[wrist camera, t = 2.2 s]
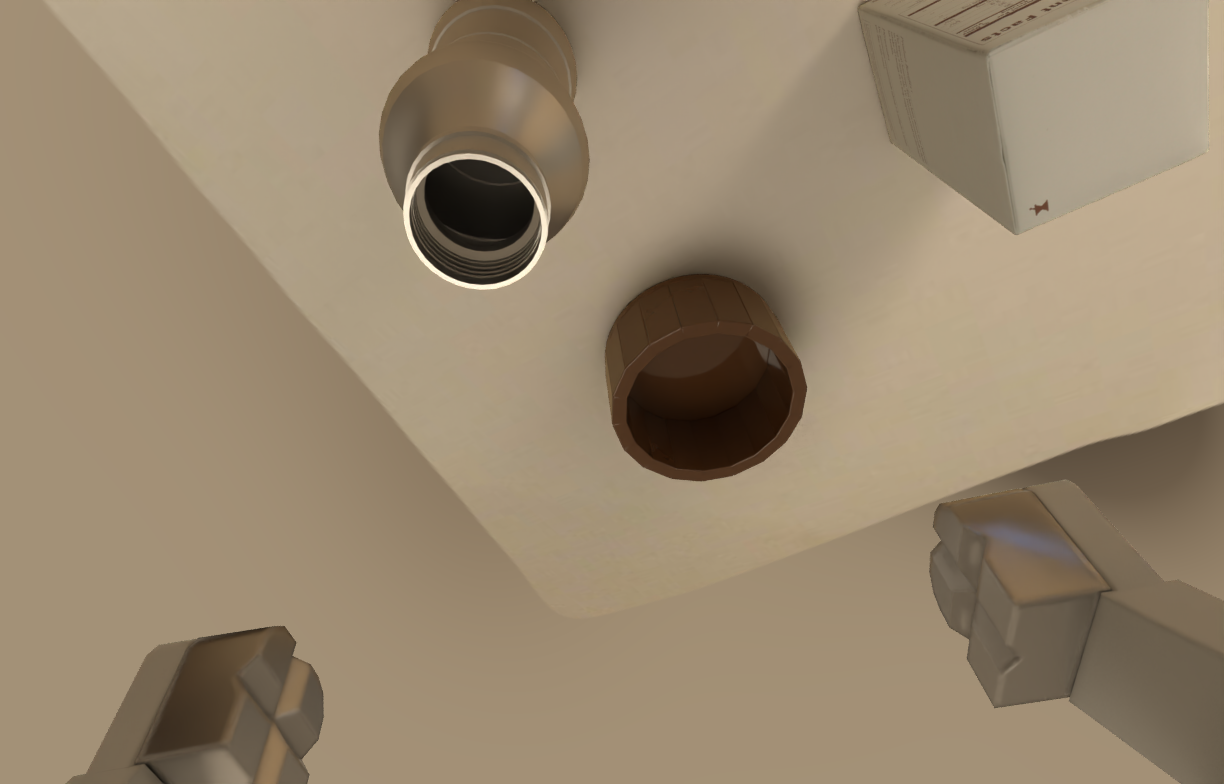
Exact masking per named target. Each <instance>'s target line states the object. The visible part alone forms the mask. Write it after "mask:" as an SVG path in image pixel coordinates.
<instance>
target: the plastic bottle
mask: <svg viewBox="0 0 1224 784" xmlns="http://www.w3.org/2000/svg"><path fill="white" fill-rule="evenodd" d="M576 86H577V70H576V61H575V58H574V54H573V51H572V48H571V45H570V43H569V41H568V39H567V37H566V35H565V33H564V31H563V30H562V28H561V27H560V26H559V24H558V23H557V22H556V20H555V19H554V18H553V17H552V16H551V15H550V14H549V13H548V12H547V11H546V10H545V9H544V8H543V7H541V6H540V5H538V4H537V3H535V2H533V1H532V0H459V1H457V2H456V3H454V4H453V5H452V6H451V7H450V8H449V9H448V10H447V11H446V12H445V13H444V14H443V15H442V17H441V18H440V20H439V22H438V23H437V25H436V26H435V29H434V31H433V34H432V36H431V39H430V43H429V49H428V54H427V55H425V56H423V57H422V58H420V59H419V60H418V61H416V62H415V63H414V64H413V65H412V66H411V67H410V68H409V69H408V70H407V71H406V72H405V73H403V74H402V75H401V76H400V78H399V79H398V81H397V82H396V84H395V85H394V87H393V89H392V90H391V92H390V93H389V95H388V98H387V101H386V103H385V106H384V109H383V111H382V116H381V123H380V130H379V144H380V156H381V160H382V164H383V168H384V172H385V175H386V178H387V181H388V184H389V186H390V188H391V190H392V192H393V194H394V197H395V199H396V201H397V203H398V204H399V205H400V207H401V208H402V210H403V211H404V224H405V228H406V232H407V236H408V239H409V241H410V243H411V245H412V247H413V249H414V251H415V252H416V254H417V255H418V256H419V258H420V259H421V261H422V262H423V263H424V264H425V265H426V266H427V267H428V268H429V269H430V270H431V271H433V272H434V273H436V274H437V275H438V276H440V277H441V278H443V279H445V280H447V281H449V282H451V283H453V284H455V285H459V286H462V287H466V288H471V289H481V290H484V289H496V288H499V287H503V286H507V285H509V284H511V283H513V282H515V281H517V280H519V279H521V278H522V277H523V276H524V275H526V274H527V273H528V272H529V271H530V270H531V269H532V268H533V267H534V265H535V264H536V263H537V261H538V260H539V258H540V256H541V254H542V252H543V250H544V247H545V243H546V242H548V241H549V240H550V239H551V238H553V237H554V236H555V235H556V234H557V233H558V232H559V231H560V230H561V229H562V228H563V227H564V226H565V225H566V223H567V222H568V221H569V220H570V219H571V217H572V216H573V215H574V213H575V211H576V209H577V208H578V206H579V204H580V202H581V200H582V198H583V195H584V191H585V188H586V185H587V181H588V173H589V162H590V158H589V148H588V139H587V136H586V133H585V129H584V126H583V123H582V119H581V117H580V115H579V112H578V110H577V108H576V106H575V104H574V98H575V94H576Z"/></svg>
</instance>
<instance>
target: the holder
mask: <svg viewBox="0 0 1224 784" xmlns="http://www.w3.org/2000/svg"><path fill="white" fill-rule="evenodd" d="M605 376H606V383H607V390H608V398H609V405H610V412H611V419H612V425H613V427H614V430H615V432H616V434H617V436H618V438H619V441H620V443H621V445H622V447H623V449H624V450H625V451H626V452H627V453H628V454H629V455H630V456H631V457H632V458H634V459H635V460H636V461H637V462H638V463H639V464H640V465H641V466H642V467H645V468H646V469H649V470H651V471H654V472H656V473H659V474H661V475H664V476H666V477H669V478H672V479H679V480H691V481H707V480H713V479H718V478H724V477H729V476H733V475H736V474H738V473H740V472H742V471H744V470H747V469H749V468H751V467H753V466H755V465H757V464H759V463H761V462H763V461H765V460H766V459H767V458H768V457H769V456H770V455H772V454H773V453H774V452H775V451H776V450H777V449H779V448H780V447H781V446H782V445H783V444H784V443H786V441H787V440H788V438H789V437H790V435H791V434H792V432H793V430H794V429H795V427H796V425H797V424H798V422H799V421H800V419H801V417H802V413H803V408H804V402H805V397H806V392H807V385H806V381H805V377H804V373H803V369H802V365H801V361H800V359H799V358H798V356H797V354H796V352H795V350H794V348H793V346H792V345H791V343H790V341H789V339H788V337H787V335H786V333H785V332H784V330H783V328H782V326H781V324H780V322H779V321H778V319H777V317H776V316H775V314H774V313H773V312H772V310H771V309H770V307H769V306H768V304H767V303H766V302H765V301H764V300H763V298H762V297H761V296H760V295H759V294H757V293H756V292H755V291H754V290H752V289H751V288H750V287H748V286H746V285H744V284H742V283H741V282H738V281H736V280H733V279H730V278H727V277H722V276H718V275H709V274H693V275H686V276H680V277H676V278H672V279H669V280H666V281H664V282H661V283H659V284H657V285H655V286H653V287H651V288H649V289H647V290H646V291H644V292H643V293H641V294H640V295H639V296H637V297H636V298H635V299H634V300H633V301H632V302H630V303H629V304H628V305H627V307H626V308H625V309H624V310H623V311H622V312H621V314H620V315H619V317H618V318H617V320H616V321H615V323H614V325H613V327H612V329H611V331H610V333H609V336H608V339H607V343H606V349H605Z"/></svg>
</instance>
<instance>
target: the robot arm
mask: <svg viewBox="0 0 1224 784" xmlns="http://www.w3.org/2000/svg"><path fill="white" fill-rule="evenodd" d="M933 528H934V529H935V531H936V532H937V534H938V536H939V537H940V539H941V541H940V542H939V543H938V545H937V546H936V547H935V548H934V549H933V550H932V551H931V553H930V571H929V572H930V577H931V582H932V587H933V592H934V595H935V598H936V600H937V603H938V606H939V608H940V611H941V612H942V614H943V616H944V618H945V620H946V622H947V624H948V626H949V627H950V628H951V629H953V630H955V631H956V632H958V633H960V634H961V635H963V636H965V637H966V638H968V639H969V647H968V654H967V660H968V662H969V663H970V665H971V667H972V669H973V670H974V672H975V674H976V676H977V678H978V680H979V681H980V683H981V685H982V686H983V688H984V690H985V692H986V694H987V695H988V697H989V699H990V701H991V703H992V704H993V706H994V708H998V707H1006V706H1012V705H1019V704H1026V703H1033V702H1040V701H1046V700H1053V699H1060V698H1067V697H1070V699H1069V701H1070V702H1071V703H1072V704H1074V705H1075V706H1077V707H1078V708H1079V709H1080V710H1082V711H1083V712H1085V713H1086V714H1087V715H1089V716H1090V717H1091V718H1093V719H1094V720H1095V721H1097V722H1098V723H1100V724H1101V725H1103V726H1104V727H1105V728H1106V729H1108V730H1109V731H1111V732H1112V733H1113V734H1114V735H1116V736H1117V737H1119V738H1120V739H1121V740H1122V741H1124V742H1126V743H1127V744H1128V745H1129V746H1131V747H1132V748H1133V749H1135V750H1136V751H1138V752H1139V753H1140V754H1142V755H1143V756H1144V757H1145V758H1147V759H1148V760H1150V761H1151V762H1152V763H1154V764H1155V765H1156V766H1158V767H1159V768H1160V769H1162V770H1163V771H1164V772H1166V773H1167V774H1168V775H1170V776H1171V777H1173V778H1174V779H1175V780H1177V781H1178V782H1179V783H1181V784H1224V601H1223V600H1221V599H1219V598H1216V597H1214V596H1212V595H1210V594H1208V593H1206V592H1204V591H1201V590H1199V589H1197V588H1195V587H1193V586H1191V585H1188V584H1186V583H1184V582H1182V581H1180V580H1173V581H1166V582H1164V581H1163V580H1162V578H1161V577H1160V576H1159V575H1158V574H1157V573H1156V572H1155V571H1154V570H1153V569H1152V568H1151V566H1150V565H1149V564H1148V563H1147V562H1146V561H1145V560H1144V559H1143V558H1142V556H1140V554H1139V553H1138V552H1137V551H1136V550H1135V549H1134V548H1133V547H1132V546H1131V544H1130V543H1129V542H1128V541H1127V540H1126V539H1125V538H1124V537H1123V536H1122V534H1121V533H1120V532H1119V531H1118V530H1117V529H1116V528H1115V527H1114V526H1113V525H1112V523H1111V522H1110V521H1109V520H1108V519H1107V518H1106V517H1105V516H1104V515H1103V514H1102V512H1100V510H1099V509H1098V508H1097V507H1096V506H1095V505H1094V504H1093V503H1092V502H1091V500H1090V499H1089V498H1088V497H1087V496H1086V495H1085V494H1084V493H1083V492H1082V490H1081V489H1080V488H1079V487H1078V486H1077V485H1076V484H1074V483H1072V482H1070V481H1068V480H1062V481H1057V482H1052V483H1046V484H1041V485H1036V486H1030V487H1025V488H1022V489H1013V490H1007V491H1002V492H997V493H992V494H987V495H982V496H977V497H971V498H966V499H961V500H956V501H951V502H946V503H941V504H939V506H938V507H937V509H936V511H935V514H934V522H933ZM295 646H296V641H295V640H294V639H293V637H292V636H291V634H290V633H289V632H288V630H287V629H286V627H285V626H272V627H266V628H259V629H253V630H246V631H240V632H233V633H227V634H221V635H214V636H208V637H202V638H197V639H192V640H186V641H180V642H174V643H168V644H162V645H158V646H157V647H156V648H155V649H153V650H152V651H151V652H150V653H149V654H148V655H147V656H146V657H145V659H144V661H143V663H142V665H141V667H140V669H139V671H138V673H137V675H136V677H135V679H134V681H133V683H132V685H131V687H130V689H129V691H128V692H127V694H126V697H125V699H124V701H123V702H122V704H121V706H120V708H119V710H118V712H117V714H116V717H115V718H114V720H113V722H112V724H111V726H110V728H109V730H108V732H107V734H106V736H105V738H104V740H103V742H102V744H101V746H100V748H99V749H98V751H97V753H96V755H95V757H94V759H93V761H92V763H91V765H90V767H89V769H88V771H87V773H86V774H83V775H78V776H74V777H72V778H71V779H70V780H69V781H68V782H67V783H66V784H307V782H308V778H309V773H308V771H307V769H306V767H305V765H304V763H303V761H302V758H303V757H304V756H305V755H306V754H307V752H308V751H309V750H310V749H311V748H312V746H313V745H314V744H315V743H316V742H317V741H318V739H319V734H320V730H321V726H322V722H323V716H324V715H323V691H322V687H321V684H320V681H319V677H318V675H317V674H316V672H315V670H314V669H313V667H312V666H311V664H309V663H307V662H304V661H302V660H300V659H298V658H296V657H294V656H292V655H293V652H294V649H295Z"/></svg>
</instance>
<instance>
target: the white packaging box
mask: <svg viewBox="0 0 1224 784" xmlns="http://www.w3.org/2000/svg"><path fill="white" fill-rule="evenodd" d="M858 13H859V17H860V21H861V26H862V30H863V35H864V39H865V43H866V47H867V51H868V55H869V59H870V63H871V67H872V71H873V75H874V79H875V83H876V87H877V91H878V94H879V98H880V102H881V106H882V110H883V114H884V118H885V122H886V126H887V130H888V134H889V138H890V142H891V143H892V144H894V145H895V146H896V147H898V148H899V149H900V150H902V151H903V152H904V153H906V154H907V155H908V156H909V157H911V158H912V159H914V160H915V161H916V162H918V163H919V164H921V165H922V166H923V167H925V168H926V169H927V170H928V171H930V172H931V173H933V174H934V175H935V176H937V177H938V178H939V179H940V180H942V181H943V182H944V183H946V184H947V185H949V186H950V187H951V188H953V189H954V190H955V191H957V192H958V193H959V194H961V195H962V196H963V197H965V198H966V199H967V200H969V201H970V202H971V203H973V204H974V205H975V206H977V207H978V208H980V209H981V210H982V211H983V212H985V213H986V214H988V215H989V216H990V217H991V218H993V219H994V220H996V221H997V222H998V223H1000V224H1001V225H1002V226H1004V227H1005V228H1006V229H1008V230H1009V231H1010V232H1012V233H1013V234H1014V235H1019V234H1021V233H1023V232H1025V231H1028V230H1030V229H1032V228H1034V227H1036V226H1039V225H1041V224H1044V223H1046V222H1049V221H1051V220H1053V219H1056V218H1058V217H1060V216H1063V215H1065V214H1067V213H1070V212H1072V211H1074V210H1077V209H1079V208H1081V207H1084V206H1086V205H1088V204H1090V203H1093V202H1095V201H1098V200H1100V199H1102V198H1105V197H1107V196H1109V195H1111V194H1114V193H1116V192H1118V191H1121V190H1123V189H1125V188H1128V187H1130V186H1132V185H1135V184H1137V183H1139V182H1142V181H1144V180H1146V179H1148V178H1151V177H1153V176H1155V175H1158V174H1160V173H1162V172H1164V171H1167V170H1169V169H1172V168H1174V167H1176V166H1179V165H1181V164H1183V163H1185V162H1188V161H1190V160H1192V159H1194V158H1196V157H1198V156H1200V155H1202V154H1204V153H1206V152H1207V151H1208V150H1209V0H871V1H869V2H867V3H865V4H863V5H861V6H859V8H858Z"/></svg>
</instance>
